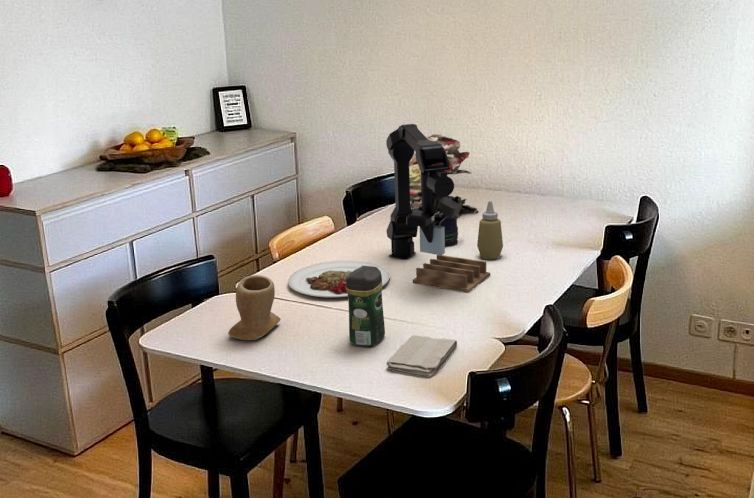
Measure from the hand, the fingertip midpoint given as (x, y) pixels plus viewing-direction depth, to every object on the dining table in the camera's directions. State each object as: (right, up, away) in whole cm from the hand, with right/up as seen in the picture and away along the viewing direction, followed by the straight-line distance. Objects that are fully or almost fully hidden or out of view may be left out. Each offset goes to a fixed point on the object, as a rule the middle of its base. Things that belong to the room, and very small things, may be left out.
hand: (432, 241), depth 241 cm
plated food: (-27, -13, +8) cm, 31 cm away
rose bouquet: (+5, +10, +73) cm, 73 cm away
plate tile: (0, -3, +1) cm, 3 cm away
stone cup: (-46, -24, -24) cm, 57 cm away
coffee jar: (-18, -25, -31) cm, 44 cm away
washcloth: (-5, -29, -42) cm, 51 cm away
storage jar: (+6, 0, +40) cm, 40 cm away
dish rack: (+6, -11, +6) cm, 14 cm away
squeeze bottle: (+20, -5, +24) cm, 31 cm away
